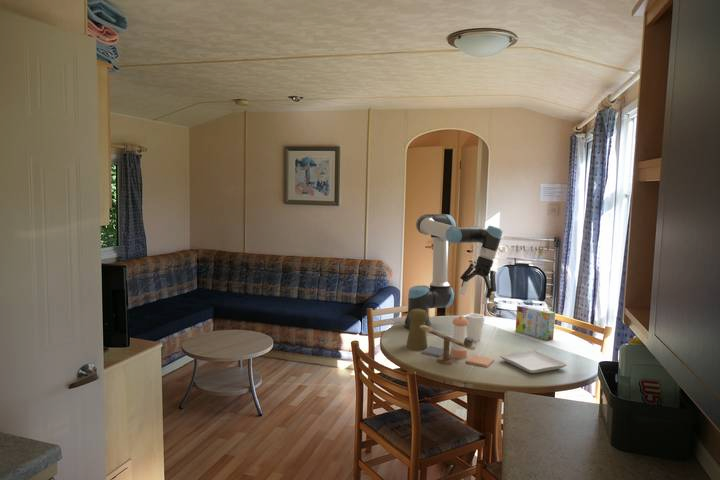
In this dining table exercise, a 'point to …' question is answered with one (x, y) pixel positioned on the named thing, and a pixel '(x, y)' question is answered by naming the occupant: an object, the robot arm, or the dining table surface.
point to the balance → (447, 340)
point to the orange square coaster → (480, 360)
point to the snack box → (535, 322)
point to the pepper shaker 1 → (417, 330)
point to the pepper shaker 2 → (459, 337)
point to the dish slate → (433, 351)
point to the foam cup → (475, 326)
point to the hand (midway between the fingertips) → (472, 299)
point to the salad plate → (533, 361)
